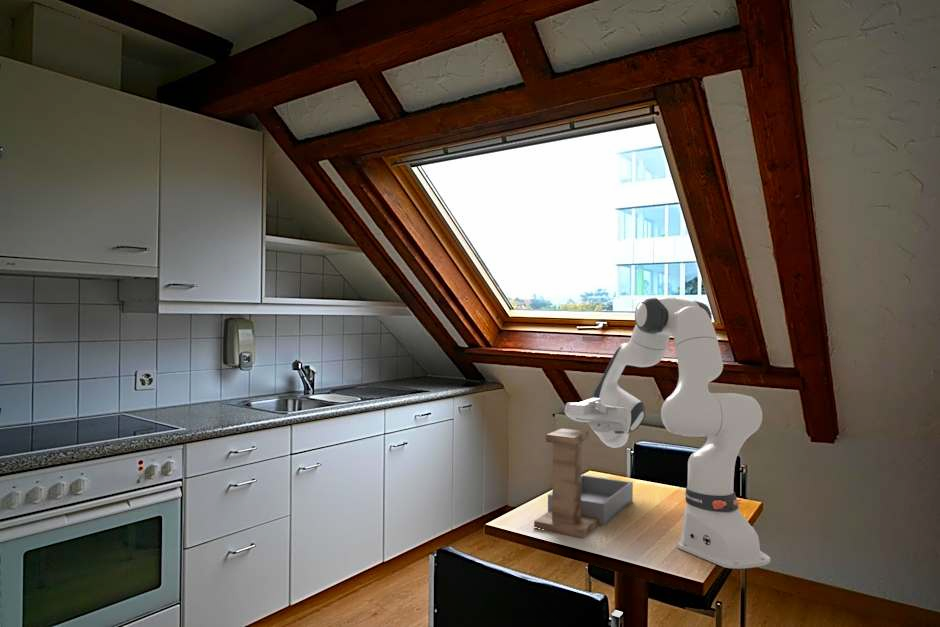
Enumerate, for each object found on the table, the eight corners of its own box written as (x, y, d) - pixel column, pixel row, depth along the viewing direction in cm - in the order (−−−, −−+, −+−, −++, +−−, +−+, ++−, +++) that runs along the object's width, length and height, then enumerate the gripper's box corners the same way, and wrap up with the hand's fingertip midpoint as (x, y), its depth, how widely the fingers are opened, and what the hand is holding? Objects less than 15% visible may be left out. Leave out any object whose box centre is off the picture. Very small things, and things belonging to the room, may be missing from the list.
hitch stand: (551, 516, 184) (552, 427, 184) (598, 525, 177) (599, 432, 177) (534, 528, 174) (535, 433, 174) (582, 538, 167) (583, 439, 167)
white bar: (590, 407, 197) (590, 397, 196) (603, 408, 194) (603, 398, 194) (569, 414, 182) (569, 404, 182) (583, 416, 180) (583, 405, 180)
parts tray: (581, 492, 209) (581, 474, 208) (632, 501, 200) (632, 482, 200) (547, 515, 185) (548, 494, 185) (603, 525, 177) (604, 504, 177)
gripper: (574, 408, 207) (560, 391, 197) (636, 414, 197) (624, 396, 187) (570, 426, 205) (556, 410, 194) (633, 433, 194) (621, 416, 184)
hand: (590, 403), depth 190 cm, fingers closed on white bar, 2 cm apart
